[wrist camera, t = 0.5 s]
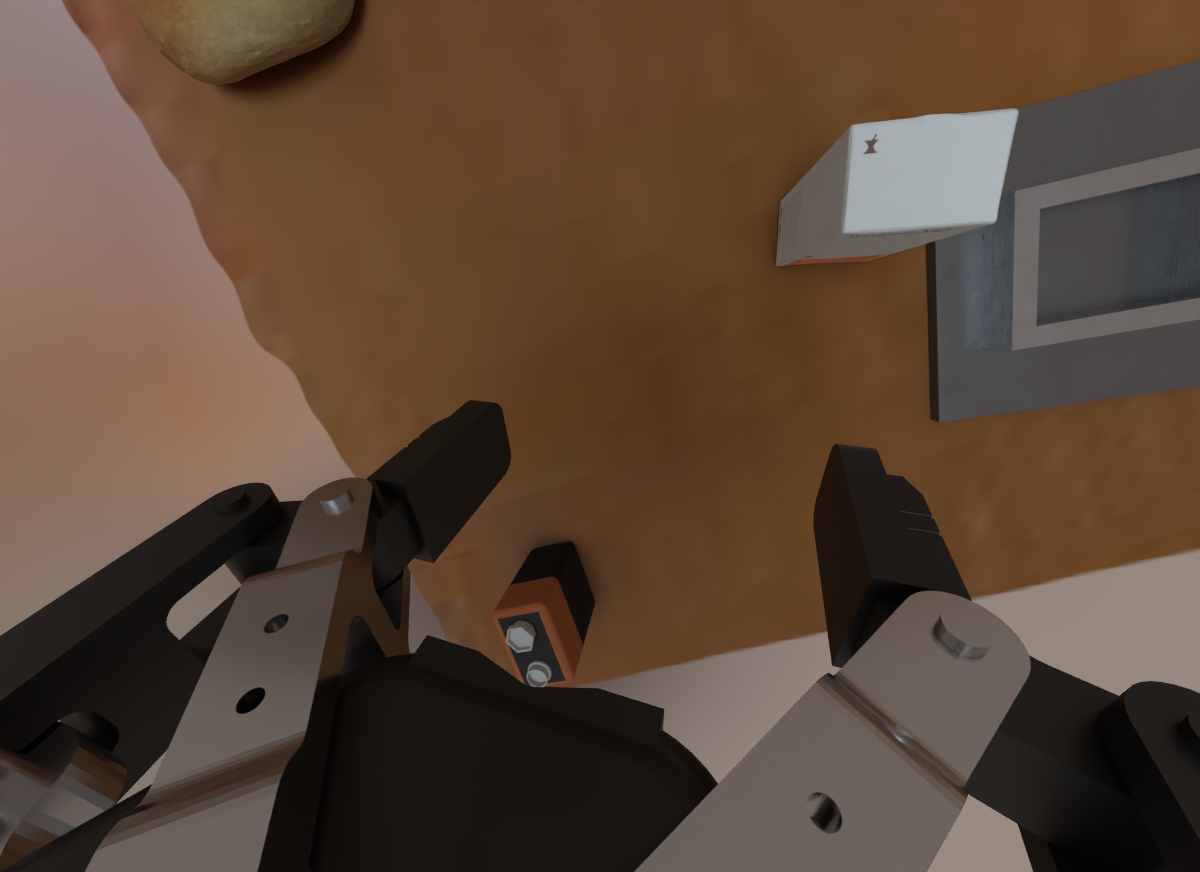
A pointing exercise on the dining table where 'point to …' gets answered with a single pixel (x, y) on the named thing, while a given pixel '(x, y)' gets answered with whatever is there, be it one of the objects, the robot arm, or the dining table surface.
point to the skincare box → (897, 187)
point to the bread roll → (238, 32)
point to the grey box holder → (1078, 258)
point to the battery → (546, 616)
